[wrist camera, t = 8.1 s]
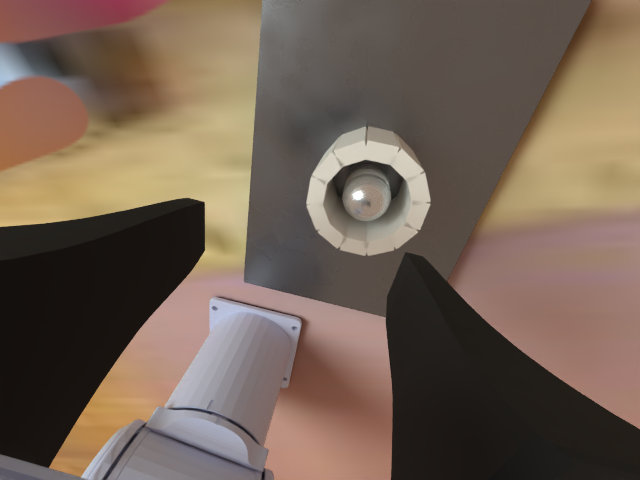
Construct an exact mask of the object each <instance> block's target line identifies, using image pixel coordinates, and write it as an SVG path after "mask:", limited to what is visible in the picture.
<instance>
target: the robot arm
mask: <svg viewBox="0 0 640 480" xmlns="http://www.w3.org/2000/svg"><path fill="white" fill-rule="evenodd" d="M204 251H205V202H202V201H198V200H194V199H190V198H183V199H176V200H171V201H166V202H161V203H157V204H152V205H148V206H143V207H139V208H134V209H130V210H125V211H120V212H115V213H110V214H105V215H100V216H94V217H89V218H83V219H76V220H69V221H61V222H53V223H45V224H34V225H21V226H8V227H0V480H274V475H273V472H272V471H271V470H269V469H266V468H264V466H265V462H266V459H267V455H268V452H269V450H268V449H267V448H264V443H265V440H266V436H267V433H268V429H269V426H270V422H271V419H272V416H273V412H274V409H275V405H276V402H277V398H278V395H279V391H280V388H287V387H288V385H289V381H290V377H291V372H292V367H293V363H294V358H295V353H296V349H297V344H298V339H299V335H300V330H301V325H302V320H301V319H300V318H298V317H294V316H290V315H286V314H282V313H278V312H274V311H270V310H266V309H262V308H258V307H254V306H250V305H246V304H242V303H238V302H234V301H230V300H226V299H222V298H218V297H213V298H212V299H211V300H210V334H209V336H208V337H207V339H206V341H205V342H204V344H203V345H202V347H201V349H200V350H199V352H198V353H197V355H196V356H195V358H194V360H193V361H192V363H191V364H190V366H189V368H188V369H187V371H186V372H185V374H184V376H183V377H182V379H181V380H180V382H179V384H178V385H177V387H176V388H175V390H174V392H173V393H172V395H171V396H170V398H169V400H168V401H167V403H166V404H165V406H164V408H163V407H160V406H158V407H157V408H156V410H155V411H154V413H153V414H152V416H151V417H150V419H149V420H148V422H145V421H143V420H141V419H137V420H135V421H133V422H132V423H131V424H128V425H126V426H124V427H122V428H121V429H119V430H118V431H117V432H116V433H115V434H114V435H113V436H112V437H111V438H110V439H109V440H108V442H107V443H106V444H105V445H104V446H103V448H102V449H101V450H100V451H99V453H98V454H97V455H96V457H95V458H94V459H93V461H92V462H91V464H90V465H89V466H88V468H87V469H86V471H85V472H84V474H83V475H82V477H78V476H74V475H71V474H67V473H64V472H60V471H57V470H53V469H50V468H49V466H50V465H51V463H52V461H53V459H54V458H55V456H56V454H57V453H58V451H59V449H60V448H61V446H62V444H63V443H64V441H65V439H66V438H67V436H68V434H69V433H70V431H71V429H72V428H73V426H74V424H75V423H76V421H77V419H78V418H79V416H80V415H81V413H82V412H83V410H84V409H85V407H86V405H87V404H88V402H89V401H90V399H91V398H92V396H93V395H94V393H95V392H96V390H97V389H98V387H99V385H100V384H101V382H102V381H103V379H104V378H105V377H106V375H107V374H108V372H109V371H110V369H111V368H112V366H113V365H114V364H115V362H116V361H117V359H118V358H119V356H120V355H121V354H122V352H123V351H124V349H125V348H126V347H127V345H128V344H129V343H130V341H131V340H132V339H133V337H134V336H135V335H136V333H137V332H138V330H139V329H140V328H141V327H142V325H143V324H144V323H145V322H146V321H147V320H148V318H149V317H150V316H151V315H152V314H153V313H154V312H155V311H156V310H157V308H158V307H159V306H160V305H161V304H162V303H163V302H164V301H165V300H166V299H167V298H168V296H169V295H170V294H171V293H172V292H173V291H174V290H175V289H176V288H177V287H178V285H179V284H180V283H181V282H182V281H183V280H184V279H185V278H186V277H187V275H188V274H189V273H190V272H191V271H192V269H193V268H194V266H195V265H196V263H197V262H198V260H199V259H200V257H201V256H202V254H203V253H204ZM294 326H295V327H294ZM386 328H387V339H388V349H389V359H390V368H391V378H392V393H393V431H392V470H391V480H640V429H638V428H637V427H635V426H633V425H632V424H630V423H628V422H626V421H625V420H623V419H621V418H620V417H618V416H616V415H614V414H613V413H611V412H610V411H608V410H606V409H605V408H603V407H602V406H600V405H599V404H597V403H595V402H594V401H592V400H591V399H589V398H588V397H586V396H585V395H583V394H581V393H580V392H578V391H577V390H575V389H574V388H572V387H571V386H569V385H568V384H566V383H565V382H563V381H562V380H560V379H559V378H558V377H556V376H555V375H553V374H552V373H550V372H549V371H548V370H546V369H545V368H544V367H542V366H541V365H539V364H538V363H537V362H535V361H534V360H533V359H531V358H530V357H529V356H527V355H526V354H525V353H523V352H522V351H521V350H519V349H518V348H517V347H516V346H514V345H513V344H512V343H511V342H510V341H508V340H507V339H506V338H505V337H504V336H502V335H501V334H500V333H499V332H498V331H496V330H495V329H494V328H493V327H492V326H491V325H490V324H488V323H487V322H486V321H485V320H484V319H483V318H482V317H481V316H480V315H479V314H478V313H477V312H476V311H475V310H474V309H473V308H472V307H471V306H470V305H468V304H467V303H466V301H465V300H464V299H463V298H462V297H461V296H460V295H459V294H458V293H457V292H456V291H455V290H454V289H453V288H452V287H451V286H450V285H449V283H448V282H447V281H446V280H445V279H444V278H443V277H442V276H441V275H440V273H439V272H438V271H437V270H436V269H435V268H434V267H433V266H432V265H431V264H430V263H429V262H428V261H427V260H426V259H425V258H424V257H423V256H420V255H416V254H412V253H408V252H405V254H404V256H403V259H402V261H401V264H400V266H399V269H398V271H397V273H396V276H395V278H394V281H393V283H392V286H391V288H390V290H389V293H388V295H387V305H386Z"/></svg>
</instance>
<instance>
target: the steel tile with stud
mask: <svg viewBox="0 0 640 480" xmlns="http://www.w3.org/2000/svg"><path fill="white" fill-rule="evenodd" d="M590 2H591V0H263V3H262V18H261V33H260V48H259V63H258V78H257V93H256V108H255V122H254V137H253V152H252V167H251V182H250V197H249V212H248V227H247V242H246V257H245V272H244V282H245V283H250V284H254V285H258V286H262V287H266V288H270V289H274V290H278V291H282V292H286V293H290V294H294V295H298V296H302V297H306V298H310V299H314V300H318V301H322V302H326V303H330V304H334V305H338V306H342V307H346V308H350V309H354V310H358V311H363V312H367V313H371V314H375V315H379V316H383V317H386V305H387V295H388V293H389V290H390V288H391V286H392V283H393V281H394V278H395V276H396V273H397V271H398V269H399V266H400V264H401V261H402V259H403V256H404V254H405V252H408V253H412V254H416V255H420V256H423V257H424V258H425V259H426V260H427V261H428V262H429V263H430V264H431V265H432V266H433V267H434V268H435V269H436V270H437V271H438V272H439V273H440V275H441V276H442V277H443V278H444V279H445V280H446V281H447V280H448V278H449V276H450V274H451V272H452V270H453V268H454V266H455V265H456V263H457V261H458V259H459V257H460V255H461V253H462V251H463V249H464V247H465V245H466V243H467V241H468V239H469V237H470V235H471V233H472V231H473V230H474V228H475V226H476V224H477V222H478V220H479V218H480V216H481V214H482V212H483V210H484V208H485V206H486V204H487V202H488V200H489V198H490V197H491V195H492V193H493V191H494V189H495V187H496V185H497V183H498V181H499V179H500V177H501V175H502V173H503V171H504V169H505V167H506V165H507V164H508V162H509V160H510V158H511V156H512V154H513V152H514V150H515V148H516V146H517V144H518V142H519V140H520V138H521V136H522V134H523V132H524V130H525V129H526V127H527V125H528V123H529V121H530V119H531V117H532V115H533V113H534V111H535V109H536V107H537V105H538V103H539V101H540V99H541V97H542V96H543V94H544V92H545V90H546V88H547V86H548V84H549V82H550V80H551V78H552V76H553V74H554V72H555V70H556V68H557V66H558V64H559V63H560V61H561V59H562V57H563V55H564V53H565V51H566V49H567V47H568V45H569V43H570V41H571V39H572V37H573V35H574V33H575V31H576V29H577V28H578V26H579V24H580V22H581V20H582V18H583V16H584V14H585V12H586V10H587V8H588V6H589V4H590ZM365 126H366V128H367V130H368V126H370V127H375V128H379V129H384V130H388V131H393V132H394V134H395V133H396V134H397V135H398V136H399V137H400V138H401V139H402V140H403V141H404V142H405V143H406V144H407V145H408V146H409V147H410V148H411V149H412V150H413V152H414V153H415V155H416V157H417V159H418V161H419V162H420V164H421V166H422V168H423V170H424V172H425V174H426V179H427V184H428V189H429V195H430V200H431V201H430V207H429V209H428V212H427V214H426V217H425V219H424V222H423V224H422V226H421V229H420V230H418V233H417V234H415V235H414V236H413V237H412V238H410V239H409V240H408V241H407V242H405V243H404V244H403V245H402V246H400V247H399V248H398V249H396V248H395V247H394V251H389V252H385V253H380V254H375V255H370V256H368V255H367V252H366V255H365V256H363V255H359V254H355V253H350V252H346V251H342V250H340V247H339V248H338V249H337V248H336V247H335V246H333V245H332V244H331V243H330V242H329V241H327V240H326V239H325V238H324V237H323V236H321V235H320V234H319V233H318V230H316V229H315V227H314V224H313V221H312V219H311V216H310V214H309V211H308V209H307V204H306V202H307V196H308V190H309V185H310V179H311V176H312V174H313V172H314V170H315V169H316V167H317V165H318V164H319V162H320V160H321V159H322V157H323V155H324V154H325V153H326V151H327V150H328V149H329V148H330V147H331V146H332V145H333V143H334V142H335V141H336V140H337V139H338V138H339V136H341V135H342V134H345V133H348V132H351V131H354V130H357V129H360V128H362V127H365ZM332 180H333V183H334V186H335V189H336V192H337V195H338V196H339V197H340V198H341V199H342V200H343V205H344V207H345V209H346V211H347V212H348V213H349V214H350V215H351V216H352V217H353V218H355V219H357V220H360V221H372V220H375V219H377V218H379V217H381V216H382V215H383V214H384V213H385V212H386V211H387V209H388V207H389V205H390V202H391V200H392V199H393V198H394V197H396V196H397V195H398V193H399V190H400V187H401V184H402V181H403V177H402V176H401V175H400V174H399V173H398V172H397V171H396V170H395V169H394V168H393V167H392V166H391V165H388V164H384V163H379V162H375V161H370V160H363V161H360V162H357V163H353V164H350V165H347V166H344V167H342V168H341V169H340V170H339V171H338V172H337V174H336V175H335V176H334V177H333V179H332Z"/></svg>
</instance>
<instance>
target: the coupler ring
mask: <svg viewBox="0 0 640 480" xmlns="http://www.w3.org/2000/svg"><path fill="white" fill-rule="evenodd" d="M363 160H370V161H375V162H379V163H384V164H388V165H391V166H392V167H393V168H394V169H395V170H396V171H397V172H398V173H399V174H400V175H401V176H402V177H403V181H402V184H401V187H400V190H399V193H398V195H397V196H396V197H394V198H393V199H392V200H391V202H390V205H389V207H388V209H387V211H386V212H385V213H384V214H383V215H382V216H381V217H379V218H377V219H375V220H372V221H360V220H357V219H355V218H353V217H352V216H351V215H350V214H349V213H348V212H347V211H346V209H345V207H344V205H343V200H342V199H341V198H340V197H339V196H338V195H337V192H336V189H335V186H334V183H333V180H332V179H333V177H334V176H335V175H336V174H337V172H338V171H339V170H340V169H341V168H342V167H344V166H347V165H350V164H353V163H357V162H360V161H363ZM430 201H431V200H430V195H429V189H428V184H427V179H426V174H425V172H424V170H423V168H422V166H421V164H420V162H419V161H418V159H417V157H416V155H415V153H414V152H413V150H412V149H411V148H410V147H409V146H408V145H407V144H406V143H405V142H404V141H403V140H402V139H401V138H400V137H399V136H398V135H397V134H396V133H395V134H394V132H393V131H388V130H384V129H379V128H375V127H370V126H368V130H367V128H366V126H365V127H362V128H360V129H357V130H354V131H351V132H348V133H345V134H342V135H341V136H339V138H338V139H337V140H336V141H335V142H334V143H333V145H332V146H331V147H330V148H329V149H328V150H327V151H326V153H325V154H324V155H323V157H322V159H321V160H320V162H319V164H318V165H317V167H316V169H315V170H314V172H313V174H312V176H311V179H310V185H309V190H308V196H307V202H306V204H307V209H308V211H309V214H310V216H311V219H312V221H313V224H314V227H315V229H316V230H318V233H319V234H320V235H321V236H323V237H324V238H325V239H326V240H327V241H329V242H330V243H331V244H332V245H333V246H335V247H336V248H337V249H338V248H339V247H340V250H342V251H346V252H350V253H355V254H359V255H363V256H365V255H366V252H367V255H368V256H370V255H375V254H380V253H385V252H389V251H394V247H395V248H396V249H398V248H399V247H400V246H402V245H403V244H404V243H405V242H407V241H408V240H409V239H410V238H412V237H413V236H414V235H415V234H417V233H418V230H420V229H421V226H422V224H423V222H424V219H425V217H426V214H427V212H428V209H429V207H430Z"/></svg>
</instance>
